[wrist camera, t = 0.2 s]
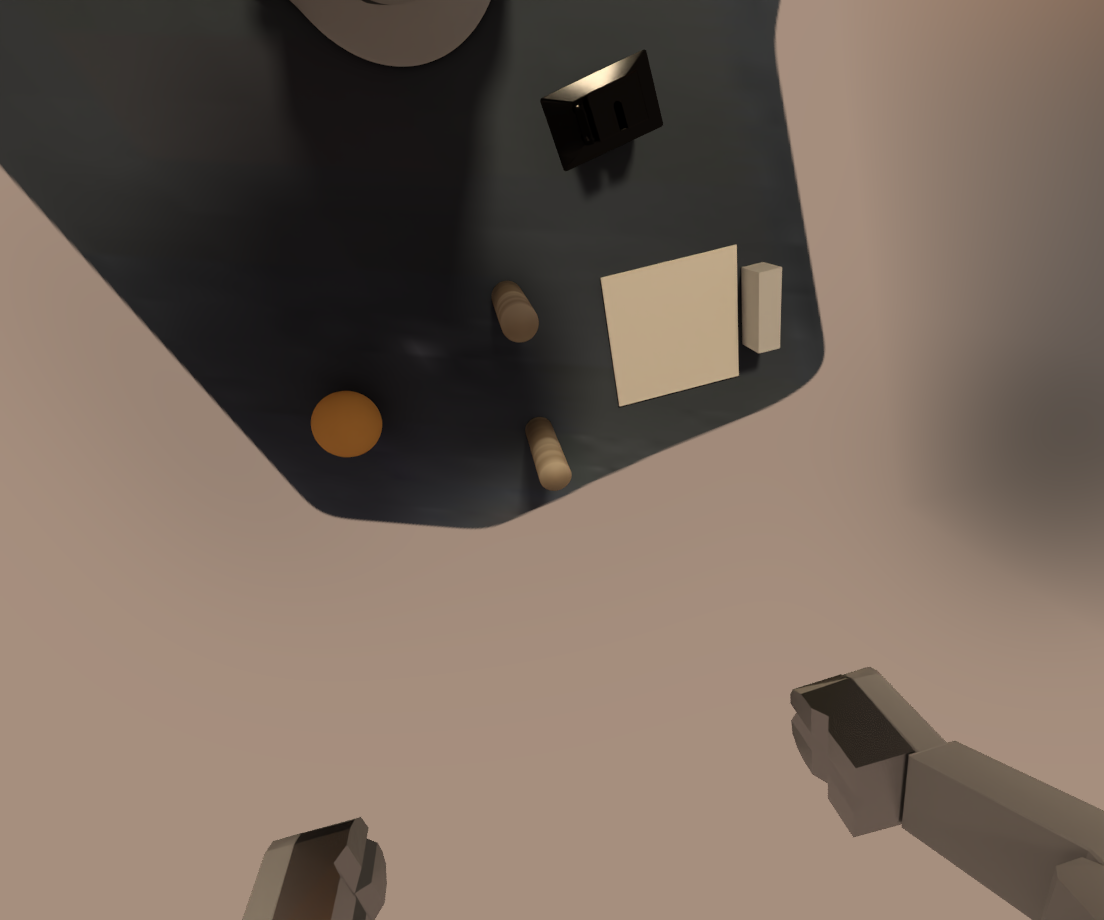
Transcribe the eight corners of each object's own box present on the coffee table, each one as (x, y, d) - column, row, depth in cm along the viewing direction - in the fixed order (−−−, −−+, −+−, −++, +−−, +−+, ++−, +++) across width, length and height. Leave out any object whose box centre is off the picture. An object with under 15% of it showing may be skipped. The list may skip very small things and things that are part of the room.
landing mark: (600, 277, 43) (600, 278, 43) (735, 244, 44) (736, 245, 44) (619, 405, 49) (619, 406, 49) (737, 374, 50) (738, 375, 50)
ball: (308, 390, 44) (290, 416, 39) (372, 374, 44) (362, 398, 39) (334, 446, 46) (321, 476, 42) (394, 430, 47) (388, 459, 42)
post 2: (522, 420, 48) (536, 467, 41) (549, 413, 49) (568, 458, 41) (528, 444, 50) (543, 494, 42) (554, 437, 50) (573, 485, 42)
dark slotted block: (542, 198, 40) (552, 200, 37) (504, 92, 37) (510, 82, 33) (689, 129, 40) (715, 124, 36) (665, 15, 36) (691, -5, 32)
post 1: (487, 284, 42) (496, 309, 34) (518, 277, 42) (534, 299, 35) (495, 316, 43) (505, 346, 36) (525, 308, 44) (542, 337, 36)
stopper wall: (741, 267, 45) (759, 273, 43) (762, 262, 45) (781, 267, 43) (742, 344, 49) (758, 353, 46) (762, 338, 49) (779, 348, 46)
